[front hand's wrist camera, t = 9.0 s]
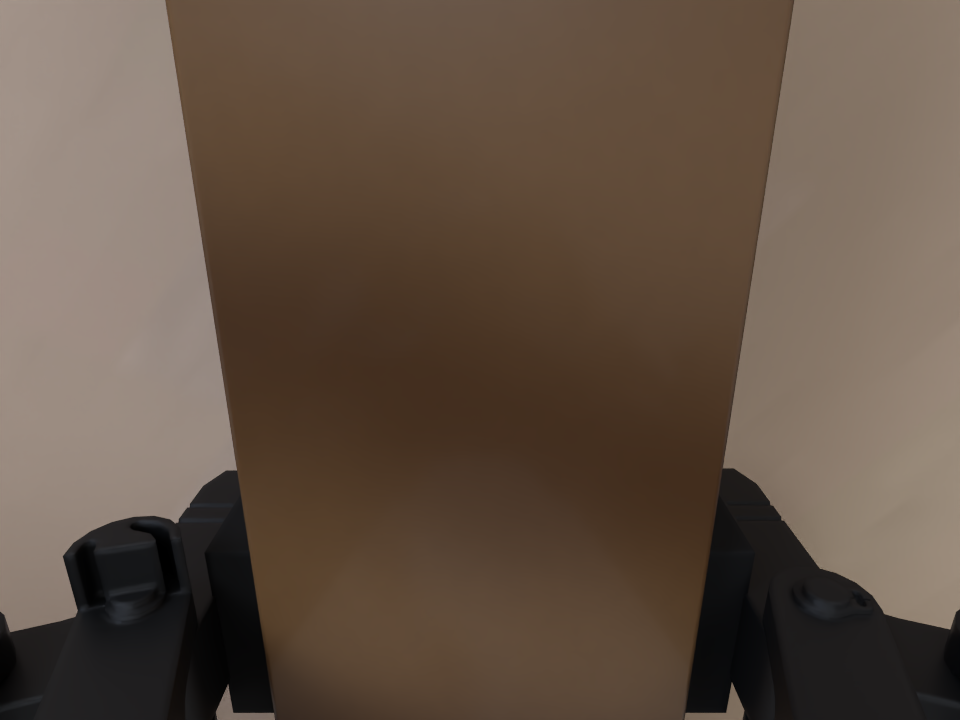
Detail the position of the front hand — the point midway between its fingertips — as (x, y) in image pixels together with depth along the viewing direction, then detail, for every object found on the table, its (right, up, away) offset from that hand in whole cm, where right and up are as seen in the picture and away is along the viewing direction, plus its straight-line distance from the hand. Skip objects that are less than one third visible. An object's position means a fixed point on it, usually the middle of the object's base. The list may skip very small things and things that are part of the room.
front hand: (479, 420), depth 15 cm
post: (0, +22, -8) cm, 23 cm away
